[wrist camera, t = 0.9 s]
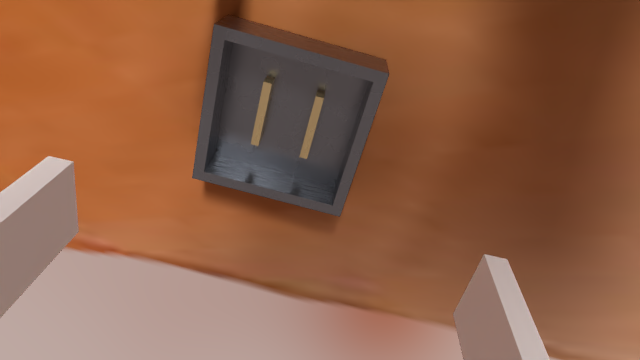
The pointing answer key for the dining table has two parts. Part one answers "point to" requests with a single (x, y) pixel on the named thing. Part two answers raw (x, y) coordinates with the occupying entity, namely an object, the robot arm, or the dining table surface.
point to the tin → (285, 114)
